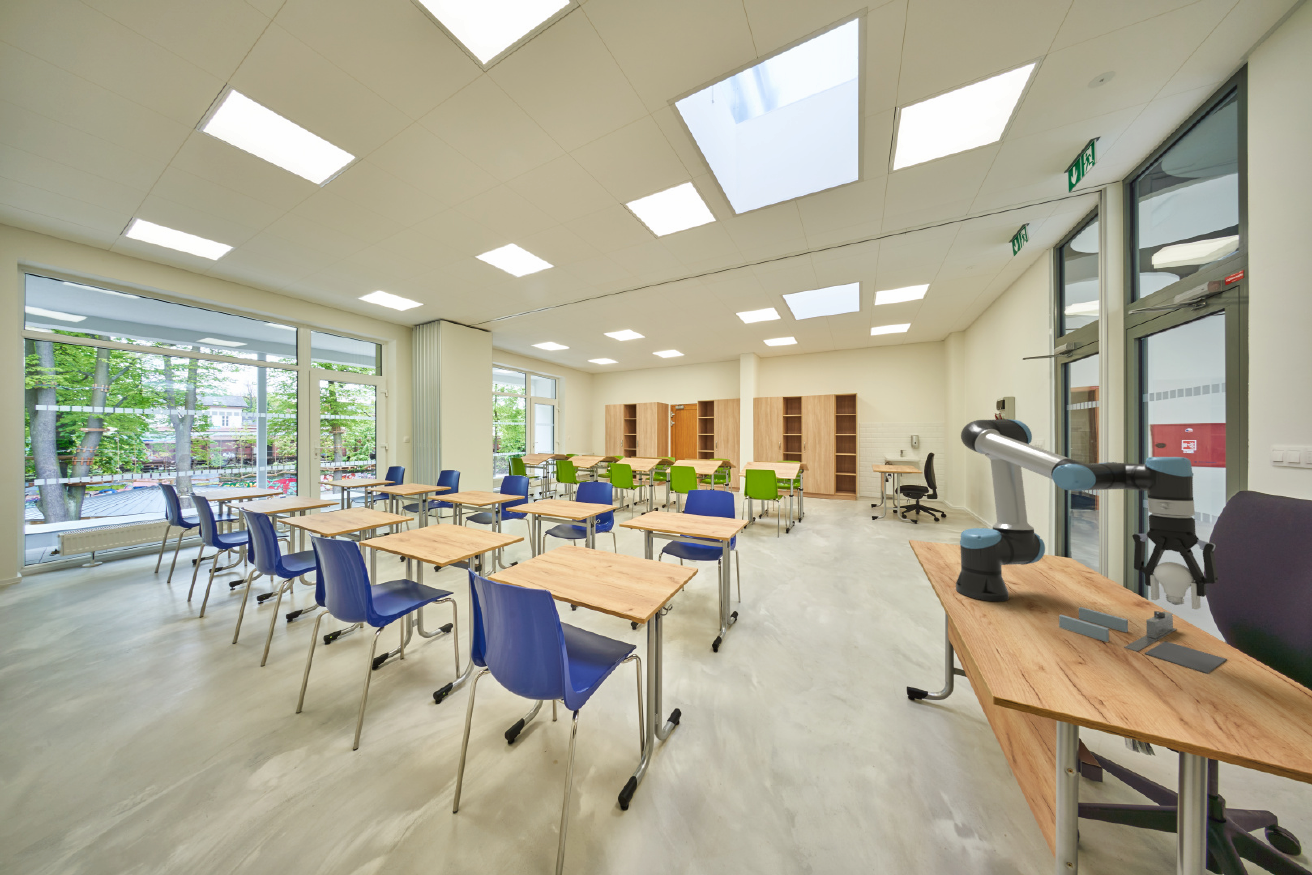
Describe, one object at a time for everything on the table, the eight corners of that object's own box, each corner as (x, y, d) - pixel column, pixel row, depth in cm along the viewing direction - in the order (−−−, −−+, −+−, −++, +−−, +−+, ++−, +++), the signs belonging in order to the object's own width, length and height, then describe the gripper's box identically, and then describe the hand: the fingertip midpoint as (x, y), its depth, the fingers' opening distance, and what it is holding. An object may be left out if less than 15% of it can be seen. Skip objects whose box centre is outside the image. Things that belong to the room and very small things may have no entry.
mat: (1144, 654, 106) (1144, 652, 106) (1165, 642, 111) (1165, 641, 111) (1207, 673, 96) (1207, 672, 96) (1226, 659, 102) (1226, 658, 102)
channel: (1059, 627, 121) (1058, 615, 121) (1081, 617, 127) (1080, 606, 127) (1106, 642, 112) (1106, 629, 112) (1128, 631, 118) (1127, 619, 118)
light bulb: (1205, 609, 102) (1203, 566, 102) (1178, 609, 102) (1176, 566, 102) (1172, 599, 108) (1170, 558, 109) (1147, 599, 108) (1145, 559, 109)
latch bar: (1145, 635, 114) (1145, 615, 114) (1163, 626, 120) (1162, 606, 120) (1156, 638, 113) (1155, 618, 113) (1174, 629, 118) (1173, 609, 118)
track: (1124, 647, 109) (1124, 646, 109) (1164, 626, 120) (1164, 625, 120) (1137, 651, 107) (1137, 650, 107) (1176, 629, 118) (1176, 628, 118)
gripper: (1112, 511, 113) (1116, 593, 112) (1227, 522, 95) (1232, 620, 95) (1124, 509, 116) (1128, 589, 115) (1238, 519, 98) (1243, 614, 98)
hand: (1175, 603), depth 105 cm, fingers closed on light bulb, 6 cm apart
